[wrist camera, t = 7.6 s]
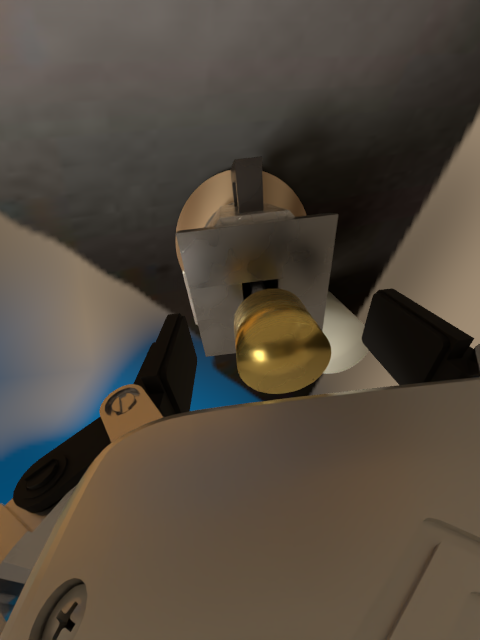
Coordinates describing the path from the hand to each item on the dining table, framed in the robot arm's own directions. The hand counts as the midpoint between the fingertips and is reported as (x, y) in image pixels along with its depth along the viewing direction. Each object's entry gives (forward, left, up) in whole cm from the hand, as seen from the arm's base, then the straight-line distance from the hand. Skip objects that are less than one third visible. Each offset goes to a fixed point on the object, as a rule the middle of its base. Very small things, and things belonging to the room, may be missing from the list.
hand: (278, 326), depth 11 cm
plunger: (0, 0, -15) cm, 15 cm away
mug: (-9, +10, -18) cm, 22 cm away
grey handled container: (0, -1, -17) cm, 17 cm away
